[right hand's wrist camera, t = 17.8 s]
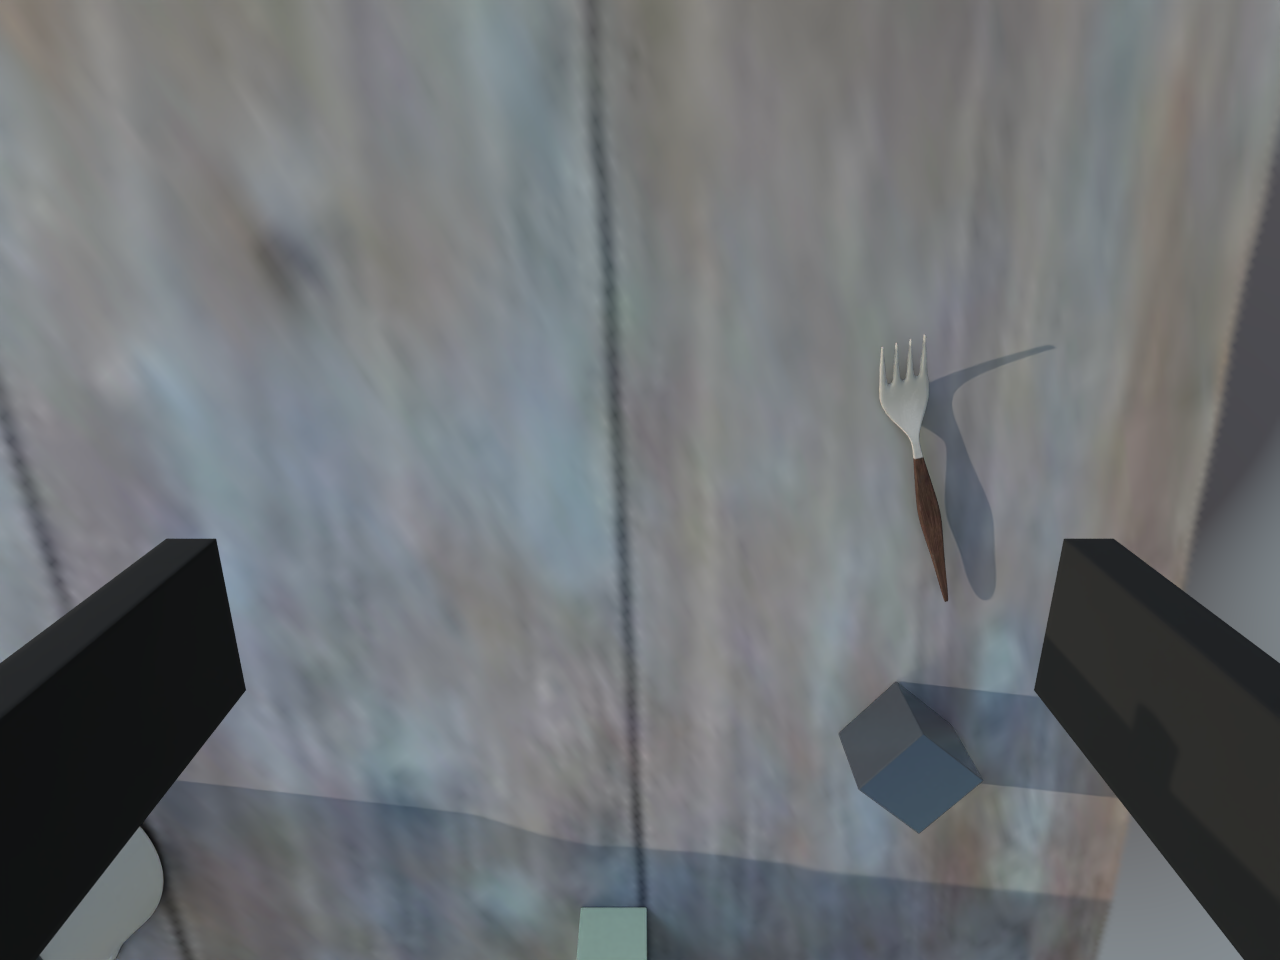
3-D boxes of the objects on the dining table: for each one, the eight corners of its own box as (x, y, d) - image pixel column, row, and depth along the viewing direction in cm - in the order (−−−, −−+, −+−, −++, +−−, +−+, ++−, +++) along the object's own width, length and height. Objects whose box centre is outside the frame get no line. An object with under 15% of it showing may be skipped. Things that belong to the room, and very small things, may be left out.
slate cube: (896, 680, 49) (923, 733, 44) (952, 724, 50) (984, 780, 46) (837, 733, 50) (858, 789, 46) (893, 775, 52) (918, 834, 47)
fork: (920, 602, 47) (932, 620, 45) (867, 341, 42) (877, 348, 40) (965, 591, 47) (978, 608, 45) (917, 326, 42) (930, 333, 40)
